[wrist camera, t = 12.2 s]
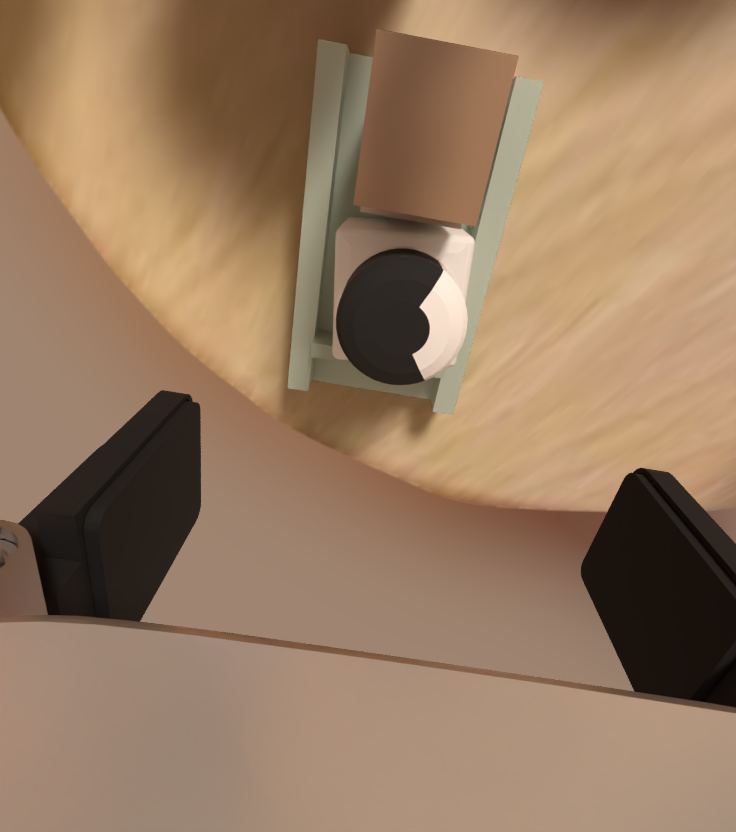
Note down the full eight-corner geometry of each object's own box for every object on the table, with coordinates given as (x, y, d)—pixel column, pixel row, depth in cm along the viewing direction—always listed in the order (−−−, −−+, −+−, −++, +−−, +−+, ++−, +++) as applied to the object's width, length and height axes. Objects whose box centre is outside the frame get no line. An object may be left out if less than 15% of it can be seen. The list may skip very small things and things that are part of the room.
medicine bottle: (342, 324, 33) (320, 396, 23) (346, 215, 30) (322, 239, 19) (443, 332, 33) (469, 407, 23) (458, 223, 30) (496, 251, 19)
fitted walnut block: (467, 101, 27) (518, 56, 16) (443, 213, 30) (473, 237, 19) (381, 85, 27) (376, 28, 16) (365, 199, 30) (351, 215, 19)
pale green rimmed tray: (524, 92, 28) (550, 78, 24) (447, 391, 38) (454, 421, 33) (327, 55, 28) (315, 33, 24) (296, 367, 37) (284, 393, 33)
